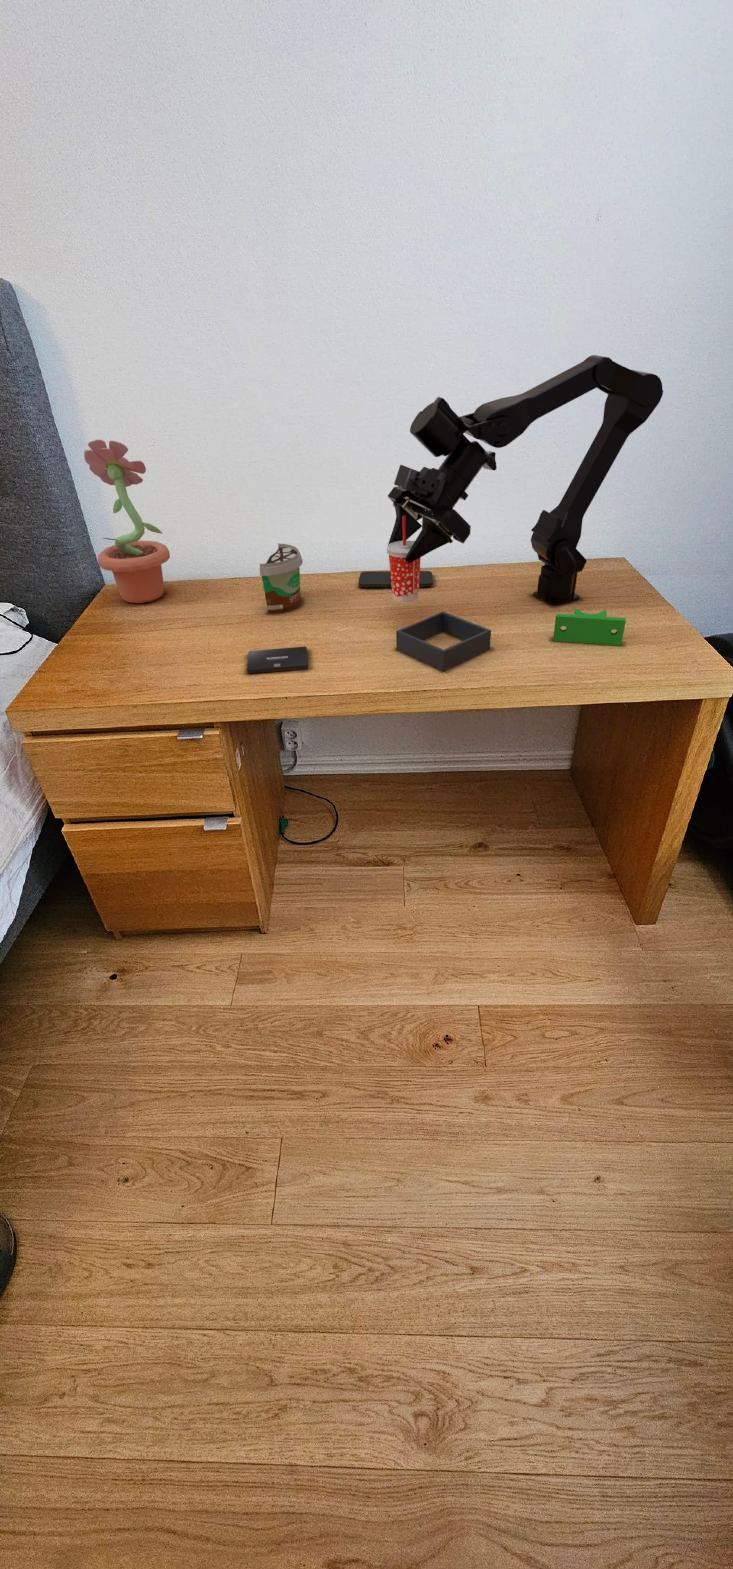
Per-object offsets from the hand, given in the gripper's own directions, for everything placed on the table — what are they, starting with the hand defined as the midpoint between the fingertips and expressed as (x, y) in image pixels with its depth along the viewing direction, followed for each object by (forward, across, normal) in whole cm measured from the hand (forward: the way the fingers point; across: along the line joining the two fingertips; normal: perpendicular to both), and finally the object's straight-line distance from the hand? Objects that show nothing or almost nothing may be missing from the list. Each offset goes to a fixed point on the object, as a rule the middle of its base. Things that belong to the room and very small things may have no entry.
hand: (397, 556), depth 118 cm
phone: (+2, -20, +16) cm, 26 cm away
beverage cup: (+4, 0, +6) cm, 8 cm away
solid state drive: (+26, +1, -8) cm, 27 cm away
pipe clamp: (-8, +21, +27) cm, 35 cm away
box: (+8, +11, +11) cm, 18 cm away
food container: (+18, -21, 0) cm, 28 cm away
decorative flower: (+35, -41, -17) cm, 57 cm away
